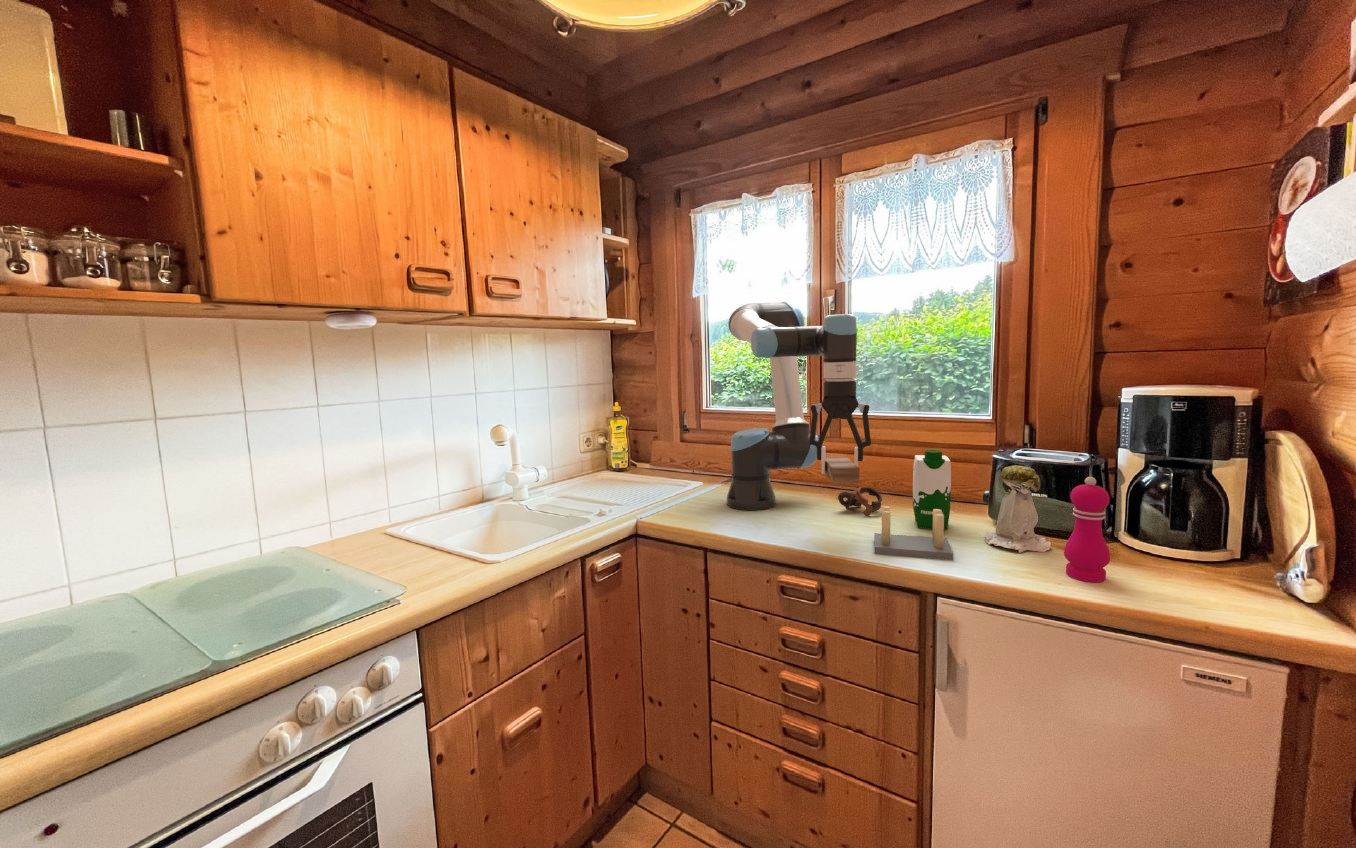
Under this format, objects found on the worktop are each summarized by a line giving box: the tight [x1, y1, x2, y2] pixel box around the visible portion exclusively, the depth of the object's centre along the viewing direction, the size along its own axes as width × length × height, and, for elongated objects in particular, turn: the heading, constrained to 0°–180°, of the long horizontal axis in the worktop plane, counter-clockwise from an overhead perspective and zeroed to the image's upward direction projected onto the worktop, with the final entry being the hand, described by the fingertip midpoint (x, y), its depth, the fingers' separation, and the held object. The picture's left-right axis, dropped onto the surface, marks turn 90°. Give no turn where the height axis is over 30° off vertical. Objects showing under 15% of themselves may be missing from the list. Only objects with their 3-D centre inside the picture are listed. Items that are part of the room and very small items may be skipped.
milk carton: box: [912, 449, 952, 531], centre depth 138 cm, size 9×9×20 cm
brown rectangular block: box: [824, 456, 860, 484], centre depth 130 cm, size 14×6×4 cm, turn 174°
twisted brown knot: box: [837, 485, 883, 517], centre depth 153 cm, size 12×10×8 cm
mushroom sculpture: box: [984, 464, 1051, 554], centre depth 122 cm, size 12×13×18 cm
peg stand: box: [873, 505, 954, 561], centre depth 122 cm, size 16×10×9 cm, turn 70°
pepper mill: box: [1063, 476, 1111, 583], centre depth 103 cm, size 7×7×20 cm
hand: (839, 473), depth 130 cm, fingers closed on brown rectangular block, 7 cm apart
